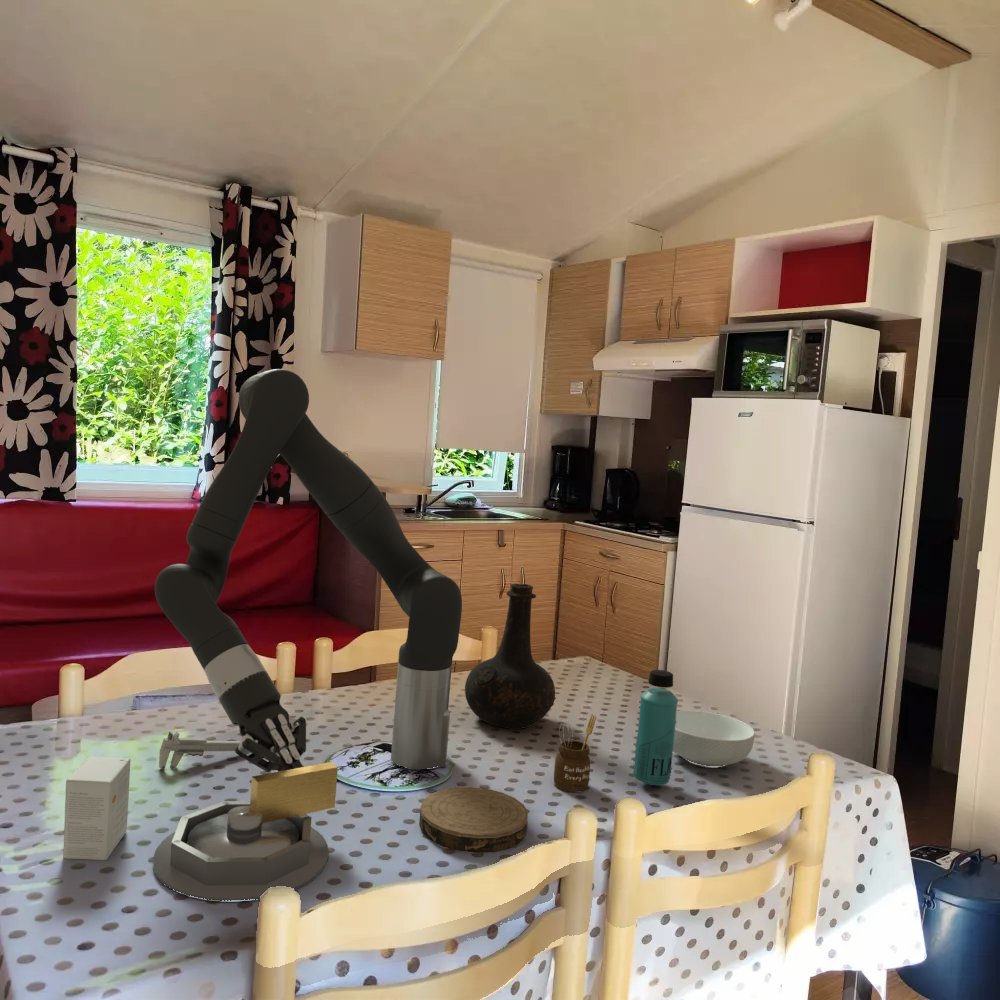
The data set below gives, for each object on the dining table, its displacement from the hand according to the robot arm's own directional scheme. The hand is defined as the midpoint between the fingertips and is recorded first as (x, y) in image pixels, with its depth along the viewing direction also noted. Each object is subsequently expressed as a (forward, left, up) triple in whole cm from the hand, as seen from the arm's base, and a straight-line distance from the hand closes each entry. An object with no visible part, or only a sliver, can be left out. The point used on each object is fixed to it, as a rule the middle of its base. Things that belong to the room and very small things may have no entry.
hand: (303, 789), depth 123 cm
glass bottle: (-39, -49, -7) cm, 63 cm away
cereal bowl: (-73, -30, -7) cm, 79 cm away
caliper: (+14, -28, -7) cm, 32 cm away
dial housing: (+7, +6, -7) cm, 11 cm away
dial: (+5, +4, -6) cm, 9 cm away
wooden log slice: (-25, -3, -7) cm, 26 cm away
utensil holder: (-44, -18, -7) cm, 48 cm away
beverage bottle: (-58, -18, -7) cm, 61 cm away
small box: (+26, +2, -7) cm, 27 cm away
